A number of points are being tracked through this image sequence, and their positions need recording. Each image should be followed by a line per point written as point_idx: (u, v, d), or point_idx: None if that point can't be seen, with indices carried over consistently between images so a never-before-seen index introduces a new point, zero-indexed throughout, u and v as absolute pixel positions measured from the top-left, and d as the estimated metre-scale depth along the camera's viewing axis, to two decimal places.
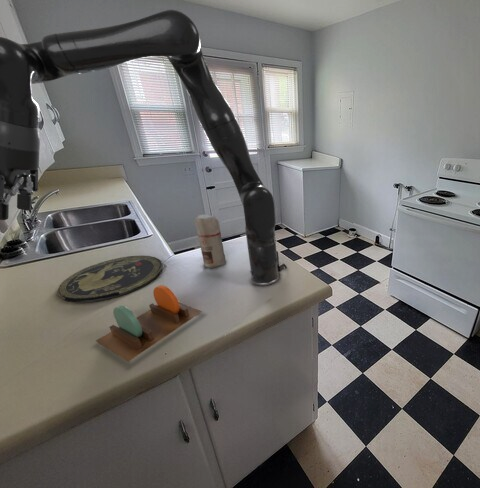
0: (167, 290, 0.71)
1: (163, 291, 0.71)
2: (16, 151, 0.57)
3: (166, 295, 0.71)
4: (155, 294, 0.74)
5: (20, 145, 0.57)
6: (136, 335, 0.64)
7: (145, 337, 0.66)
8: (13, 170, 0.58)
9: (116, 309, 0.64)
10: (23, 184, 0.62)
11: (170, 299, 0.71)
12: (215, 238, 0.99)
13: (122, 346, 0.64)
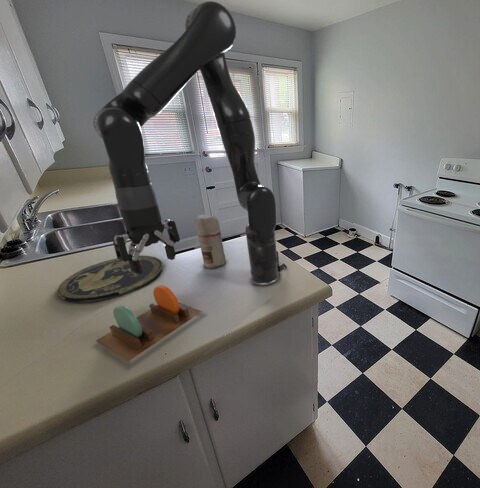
0: (167, 290, 0.71)
1: (163, 291, 0.71)
2: (129, 212, 0.59)
3: (166, 295, 0.71)
4: (155, 294, 0.74)
5: (130, 205, 0.59)
6: (136, 335, 0.64)
7: (145, 337, 0.66)
8: (136, 229, 0.62)
9: (116, 309, 0.64)
10: (156, 238, 0.67)
11: (170, 299, 0.71)
12: (215, 238, 0.99)
13: (122, 346, 0.64)
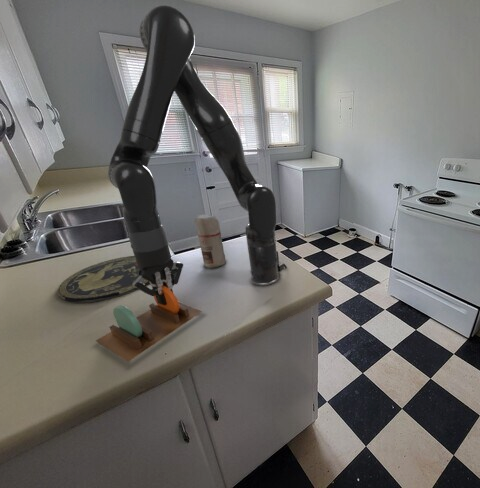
0: (167, 290, 0.71)
1: (163, 291, 0.71)
2: (142, 254, 0.64)
3: (165, 295, 0.71)
4: None
5: (142, 248, 0.63)
6: (136, 335, 0.64)
7: (145, 337, 0.66)
8: (148, 268, 0.66)
9: (116, 309, 0.64)
10: (162, 275, 0.70)
11: (170, 299, 0.71)
12: (215, 238, 0.99)
13: (122, 346, 0.64)
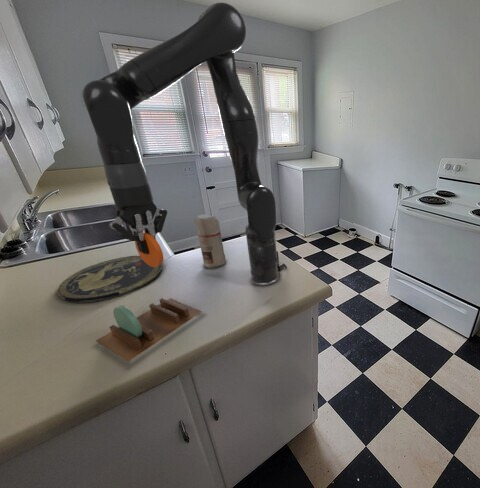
0: (150, 237, 0.66)
1: (145, 238, 0.66)
2: (119, 190, 0.58)
3: (148, 242, 0.66)
4: None
5: (120, 183, 0.58)
6: (136, 335, 0.64)
7: (145, 337, 0.66)
8: (127, 208, 0.61)
9: (116, 309, 0.64)
10: (143, 219, 0.64)
11: (152, 246, 0.65)
12: (215, 238, 0.99)
13: (122, 346, 0.64)
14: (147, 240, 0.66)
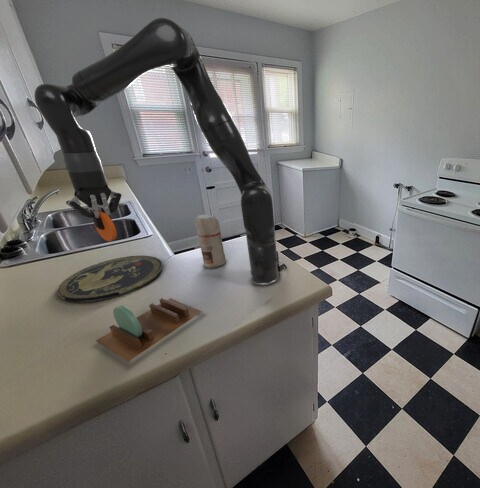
0: (104, 215, 0.78)
1: (100, 215, 0.78)
2: (75, 174, 0.71)
3: (103, 219, 0.79)
4: None
5: (75, 168, 0.70)
6: (136, 335, 0.64)
7: (145, 337, 0.66)
8: (83, 190, 0.74)
9: (116, 309, 0.64)
10: (98, 200, 0.77)
11: (106, 222, 0.78)
12: (215, 238, 0.99)
13: (122, 346, 0.64)
14: (102, 217, 0.78)
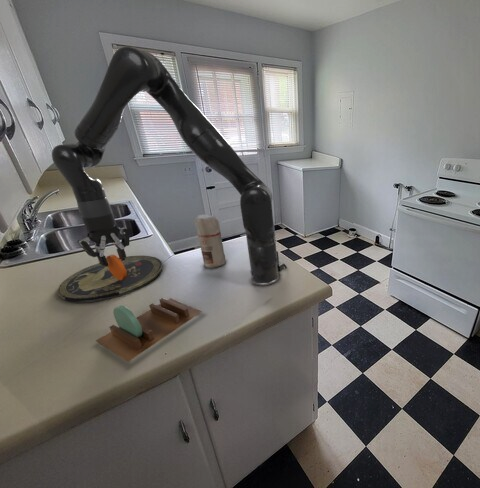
0: (116, 258, 0.88)
1: (112, 259, 0.88)
2: (88, 219, 0.79)
3: (114, 262, 0.88)
4: None
5: (88, 214, 0.79)
6: (136, 335, 0.64)
7: (145, 337, 0.66)
8: (95, 232, 0.82)
9: (116, 309, 0.64)
10: (110, 239, 0.86)
11: (117, 265, 0.87)
12: (215, 238, 0.99)
13: (122, 346, 0.64)
14: (114, 260, 0.88)
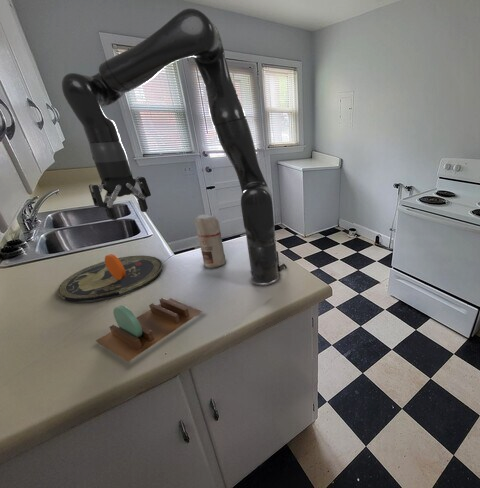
0: (113, 256, 0.88)
1: (110, 257, 0.88)
2: (102, 164, 0.71)
3: (112, 261, 0.88)
4: (106, 263, 0.91)
5: (102, 158, 0.71)
6: (136, 335, 0.64)
7: (145, 337, 0.66)
8: (109, 180, 0.74)
9: (116, 309, 0.64)
10: (128, 191, 0.79)
11: (115, 263, 0.88)
12: (215, 238, 0.99)
13: (122, 346, 0.64)
14: (111, 259, 0.88)
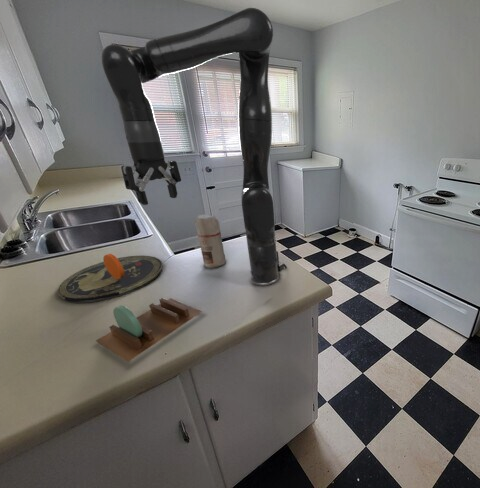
0: (110, 255, 0.89)
1: (107, 256, 0.89)
2: (136, 144, 0.67)
3: (110, 259, 0.89)
4: (105, 264, 0.92)
5: (137, 138, 0.67)
6: (136, 335, 0.64)
7: (145, 337, 0.66)
8: (142, 162, 0.70)
9: (116, 309, 0.64)
10: (160, 174, 0.75)
11: (112, 261, 0.88)
12: (215, 238, 0.99)
13: (122, 346, 0.64)
14: (109, 258, 0.89)
